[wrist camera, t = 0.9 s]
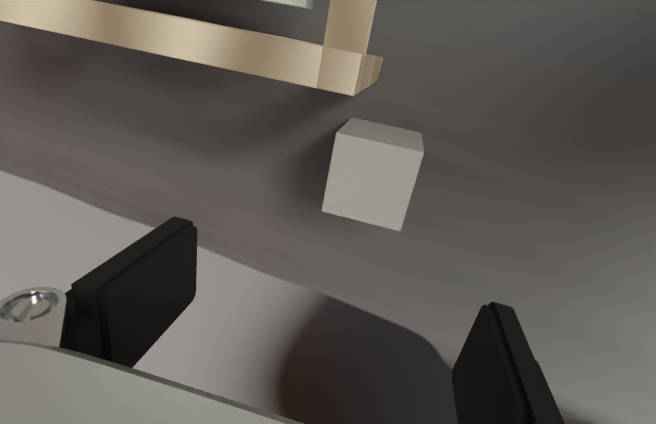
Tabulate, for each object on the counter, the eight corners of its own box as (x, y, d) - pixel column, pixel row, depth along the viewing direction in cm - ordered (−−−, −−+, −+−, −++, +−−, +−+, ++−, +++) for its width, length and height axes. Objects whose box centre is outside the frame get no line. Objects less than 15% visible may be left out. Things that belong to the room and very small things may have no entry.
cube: (421, 132, 25) (424, 152, 19) (402, 197, 27) (400, 231, 21) (352, 117, 25) (336, 132, 20) (338, 181, 27) (321, 211, 22)
